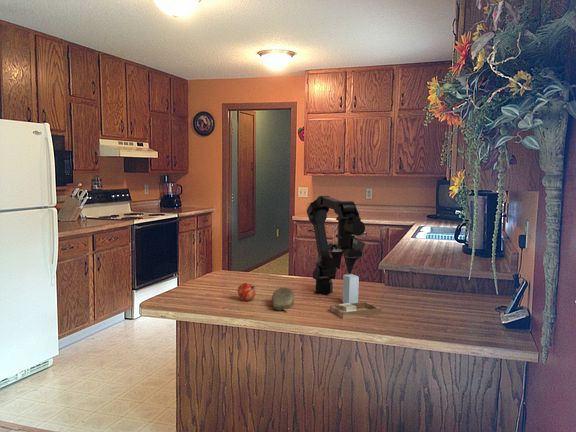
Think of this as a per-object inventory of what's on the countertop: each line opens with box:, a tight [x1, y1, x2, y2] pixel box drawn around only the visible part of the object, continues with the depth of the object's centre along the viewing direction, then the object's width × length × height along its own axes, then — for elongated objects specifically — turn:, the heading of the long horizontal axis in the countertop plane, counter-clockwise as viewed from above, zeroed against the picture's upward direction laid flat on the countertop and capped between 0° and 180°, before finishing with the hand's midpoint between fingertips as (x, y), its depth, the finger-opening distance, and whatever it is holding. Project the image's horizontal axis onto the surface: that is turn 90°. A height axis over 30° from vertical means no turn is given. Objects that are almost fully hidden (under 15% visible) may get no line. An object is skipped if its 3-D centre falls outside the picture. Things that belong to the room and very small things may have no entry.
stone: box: [271, 287, 295, 312], centre depth 187 cm, size 9×14×10 cm, turn 178°
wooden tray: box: [329, 301, 383, 320], centre depth 177 cm, size 10×16×3 cm, turn 112°
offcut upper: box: [338, 303, 356, 312], centre depth 176 cm, size 5×4×2 cm
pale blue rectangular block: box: [342, 273, 360, 304], centre depth 187 cm, size 5×4×12 cm
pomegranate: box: [236, 282, 257, 302], centre depth 195 cm, size 7×7×10 cm
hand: (343, 271), depth 192 cm, fingers open, 9 cm apart
